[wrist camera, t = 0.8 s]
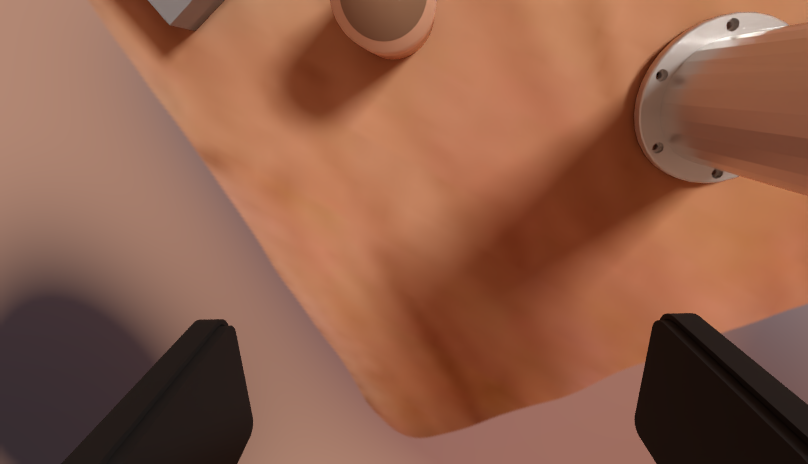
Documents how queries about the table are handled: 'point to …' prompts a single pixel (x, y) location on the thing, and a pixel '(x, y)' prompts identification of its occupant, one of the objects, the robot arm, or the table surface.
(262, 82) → the table surface
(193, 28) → the grey tray
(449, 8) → the table surface
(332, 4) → the terracotta cup
